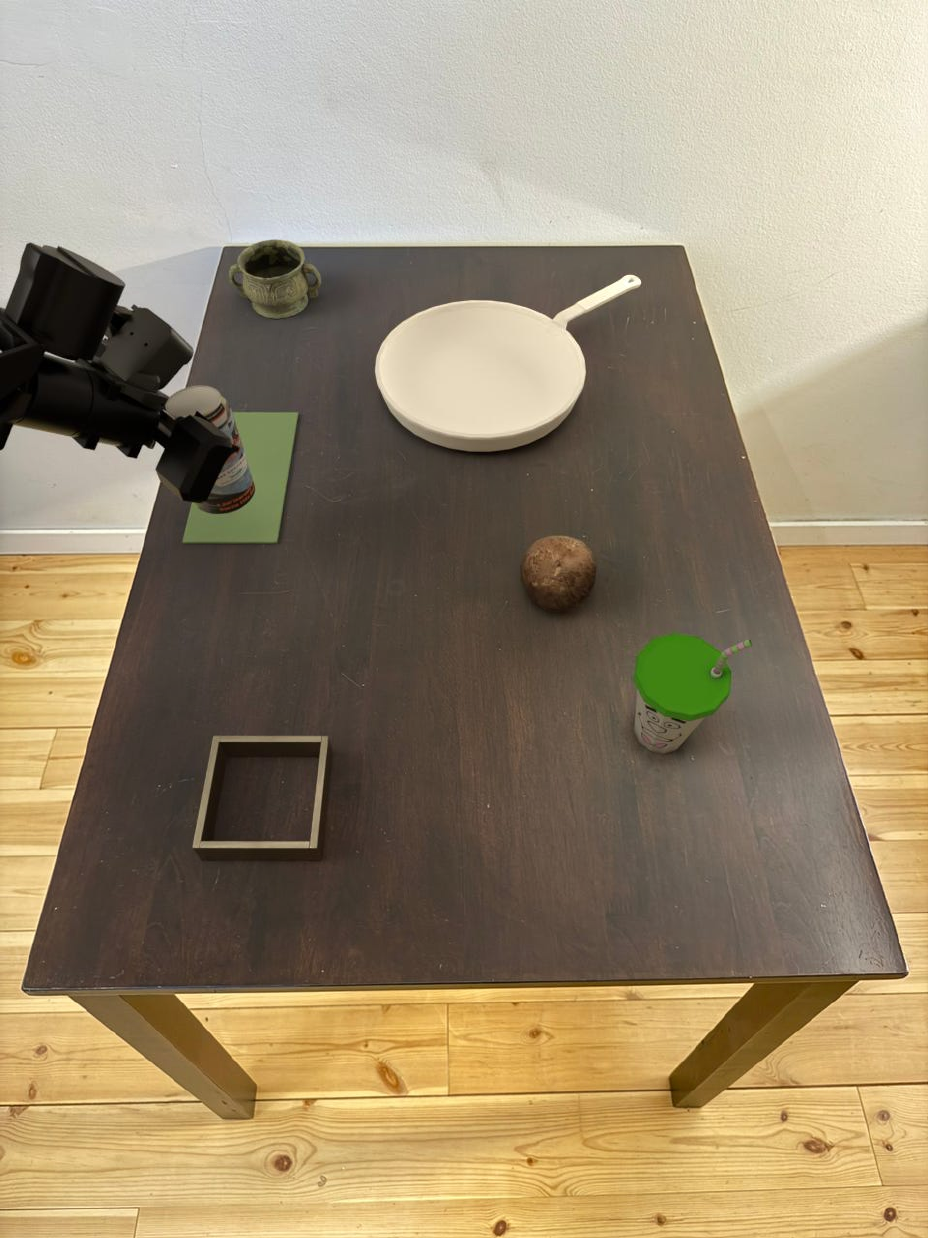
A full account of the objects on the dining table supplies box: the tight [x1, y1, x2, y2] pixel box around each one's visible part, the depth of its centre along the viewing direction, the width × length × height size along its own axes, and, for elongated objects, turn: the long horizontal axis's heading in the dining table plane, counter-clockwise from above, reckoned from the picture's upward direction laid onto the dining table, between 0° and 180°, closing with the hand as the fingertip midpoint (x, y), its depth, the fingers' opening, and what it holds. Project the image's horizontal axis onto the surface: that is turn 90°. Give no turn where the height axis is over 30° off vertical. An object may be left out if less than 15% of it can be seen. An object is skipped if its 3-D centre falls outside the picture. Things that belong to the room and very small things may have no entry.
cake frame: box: [192, 735, 334, 861], centre depth 72 cm, size 10×10×3 cm
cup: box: [632, 632, 753, 755], centre depth 71 cm, size 8×8×15 cm
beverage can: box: [165, 385, 255, 514], centre depth 80 cm, size 6×7×12 cm
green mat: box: [181, 411, 299, 545], centre depth 95 cm, size 10×20×1 cm, turn 0°
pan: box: [374, 274, 642, 453], centre depth 104 cm, size 25×39×4 cm, turn 129°
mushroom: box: [519, 535, 598, 613], centre depth 84 cm, size 8×8×6 cm
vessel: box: [228, 238, 322, 320], centre depth 111 cm, size 12×9×6 cm
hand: (217, 435), depth 80 cm, fingers closed on beverage can, 6 cm apart
